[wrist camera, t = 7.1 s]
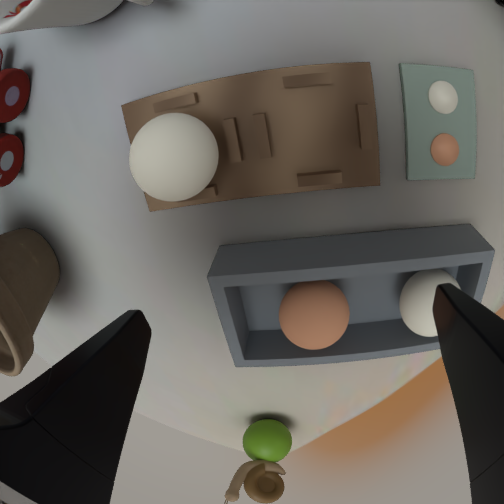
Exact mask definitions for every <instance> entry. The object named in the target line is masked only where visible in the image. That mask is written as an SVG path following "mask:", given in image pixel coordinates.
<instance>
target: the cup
mask: <svg viewBox="0 0 504 504" xmlns="http://www.w3.org/2000/svg"><path fill="white" fill-rule="evenodd" d="M128 1H131V2H133V3H136V4H139V5H142V6H148V5H150V4H151V3H152V2H153V1H154V0H128ZM122 2H123V0H0V34H4V33H10V32H17V31H24V30H32V29H41V28H52V27H66V26H78V25H83V24H88V23H91V22H94V21H96V20H98V19H100V18H102V17H104V16H106V15H107V14H109V13H110V12H112V11H113V10H114V9H115V8H117V7H118V6H119V5H120V4H121V3H122Z"/></svg>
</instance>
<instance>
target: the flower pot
mask: <svg viewBox="0 0 504 504" xmlns="http://www.w3.org/2000/svg"><path fill="white" fill-rule="evenodd" d="M59 276H60V270H59V264H58V261H57V258H56V256H55V253H54V252H53V250H52V248H51V246H50V245H49V244H48V242H47V241H46V240H45V239H44V238H43V237H42V236H41V235H40V234H38V233H37V232H35V231H34V230H31V229H28V228H21V229H17V230H14V231H10V232H7V233H4V234H1V235H0V373H2V374H5V375H8V376H17V375H18V374H20V373H21V371H22V370H23V368H24V366H25V365H26V363H27V362H28V361H29V359H30V358H31V356H32V354H33V350H34V342H33V334H34V332H35V330H36V328H37V326H38V323H39V321H40V319H41V317H42V315H43V313H44V311H45V309H46V307H47V305H48V303H49V301H50V299H51V297H52V295H53V292H54V290H55V288H56V286H57V283H58V281H59Z"/></svg>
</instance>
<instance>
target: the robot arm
mask: <svg viewBox="0 0 504 504" xmlns="http://www.w3.org/2000/svg"><path fill="white" fill-rule="evenodd" d="M496 1H497V2H498V3H499V4H500V5H502V6H504V0H503V1H502V0H496ZM432 312H433V317H434V321H435V326H436V330H437V335H438V339H439V344H440V349H441V354H442V359H443V362H444V366H445V369H446V373H447V376H448V379H449V383H450V386H451V390H452V394H453V398H454V402H455V406H456V410H457V414H458V419H459V423H460V428H461V432H462V437H463V442H464V448H465V453H466V459H467V465H468V472H469V479H470V482H471V483H470V488H471V497H472V504H504V320H503V319H502V318H500V317H499V316H498V315H496V314H495V313H493V312H492V311H491V310H489V309H488V308H486V307H485V306H484V305H482V304H481V303H479V302H478V301H476V300H475V299H474V298H472V297H471V296H469V295H468V294H466V293H465V292H463V291H462V290H460V289H459V288H457V287H456V286H454V285H453V284H451V283H443V284H439V285H437V287H436V291H435V296H434V302H433V307H432ZM150 339H151V328H150V326H149V324H148V322H147V320H146V318H145V316H144V314H143V312H142V311H141V310H128V311H127V312H125V313H124V314H123V315H121V316H120V317H118V318H117V319H116V320H114V321H113V322H112V323H110V324H109V325H107V326H106V327H105V328H103V329H102V330H101V331H99V332H98V333H97V334H95V335H94V336H92V337H91V338H90V339H88V340H87V341H86V342H84V343H83V344H82V345H80V346H79V347H78V348H76V349H75V350H74V351H72V352H71V353H70V354H68V355H67V356H66V357H64V358H63V359H62V360H60V361H59V362H58V363H56V364H55V365H54V366H52V368H49V369H48V370H47V371H46V372H44V373H43V374H42V375H40V376H39V377H37V378H36V379H35V380H33V381H32V382H30V383H29V384H28V385H26V386H25V387H23V388H22V389H20V390H19V391H17V392H16V393H14V394H13V395H11V396H10V397H8V398H7V399H5V400H4V401H2V402H0V504H110V499H111V494H112V490H113V486H114V481H115V476H116V472H117V467H118V464H119V460H120V456H121V451H122V448H123V444H124V440H125V437H126V433H127V429H128V425H129V422H130V418H131V415H132V411H133V408H134V404H135V401H136V397H137V394H138V390H139V387H140V384H141V380H142V377H143V373H144V368H145V364H146V358H147V353H148V349H149V344H150Z"/></svg>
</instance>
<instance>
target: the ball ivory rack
mask: <svg viewBox="0 0 504 504" xmlns="http://www.w3.org/2000/svg"><path fill="white" fill-rule="evenodd" d="M218 158H219V153H218V146H217V142H216V139H215V137H214V135H213V133H212V132H211V130H210V129H209V128H208V127H207V126H206V125H205V124H204V123H203V122H202V121H200V120H199V119H197V118H195V117H193V116H191V115H188V114H183V113H168V114H163V115H160V116H158V117H156V118H154V119H152V120H150V121H149V122H147V123H146V124H145V125H144V126H143V127H142V128H141V129H140V130H139V131H138V133H137V134H136V136H135V138H134V140H133V142H132V144H131V148H130V154H129V164H130V170H131V173H132V176H133V178H134V180H135V181H136V183H137V184H138V186H139V187H140V188H141V189H142V190H143V191H144V192H146V193H147V194H148V195H150V196H152V197H154V198H156V199H159V200H163V201H171V202H174V201H182V200H186V199H188V198H191V197H193V196H195V195H197V194H198V193H199V192H201V191H202V190H203V189H204V188H205V187H206V186H207V185H208V184H209V183H210V181H211V180H212V178H213V176H214V174H215V172H216V169H217V165H218Z"/></svg>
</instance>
